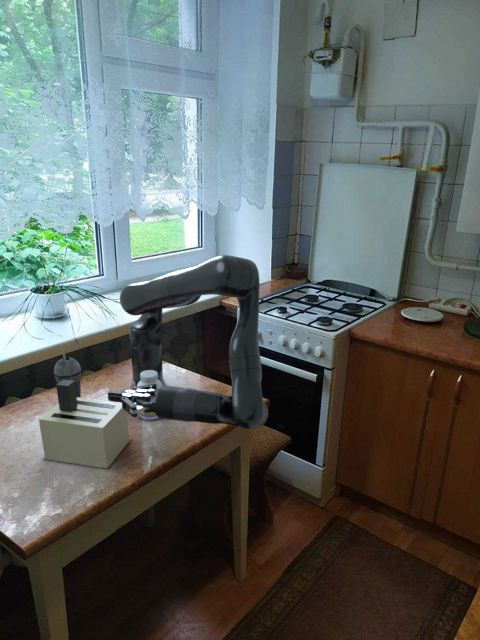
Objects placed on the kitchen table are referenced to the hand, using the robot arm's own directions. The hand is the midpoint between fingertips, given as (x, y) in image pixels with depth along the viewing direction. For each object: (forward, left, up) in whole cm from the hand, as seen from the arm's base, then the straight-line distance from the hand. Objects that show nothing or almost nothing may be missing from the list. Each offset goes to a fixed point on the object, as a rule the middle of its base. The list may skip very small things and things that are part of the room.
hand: (109, 395), depth 115 cm
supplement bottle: (-20, +1, -16) cm, 26 cm away
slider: (0, -11, -5) cm, 12 cm away
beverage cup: (-18, -22, -16) cm, 33 cm away
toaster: (0, -7, -16) cm, 18 cm away
